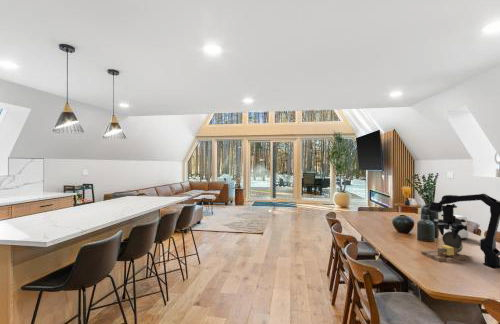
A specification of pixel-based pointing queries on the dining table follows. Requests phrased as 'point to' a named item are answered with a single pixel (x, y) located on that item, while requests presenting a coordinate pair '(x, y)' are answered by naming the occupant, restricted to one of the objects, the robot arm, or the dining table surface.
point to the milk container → (461, 233)
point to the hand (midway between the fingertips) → (448, 236)
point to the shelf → (443, 254)
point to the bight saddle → (448, 249)
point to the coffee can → (452, 241)
